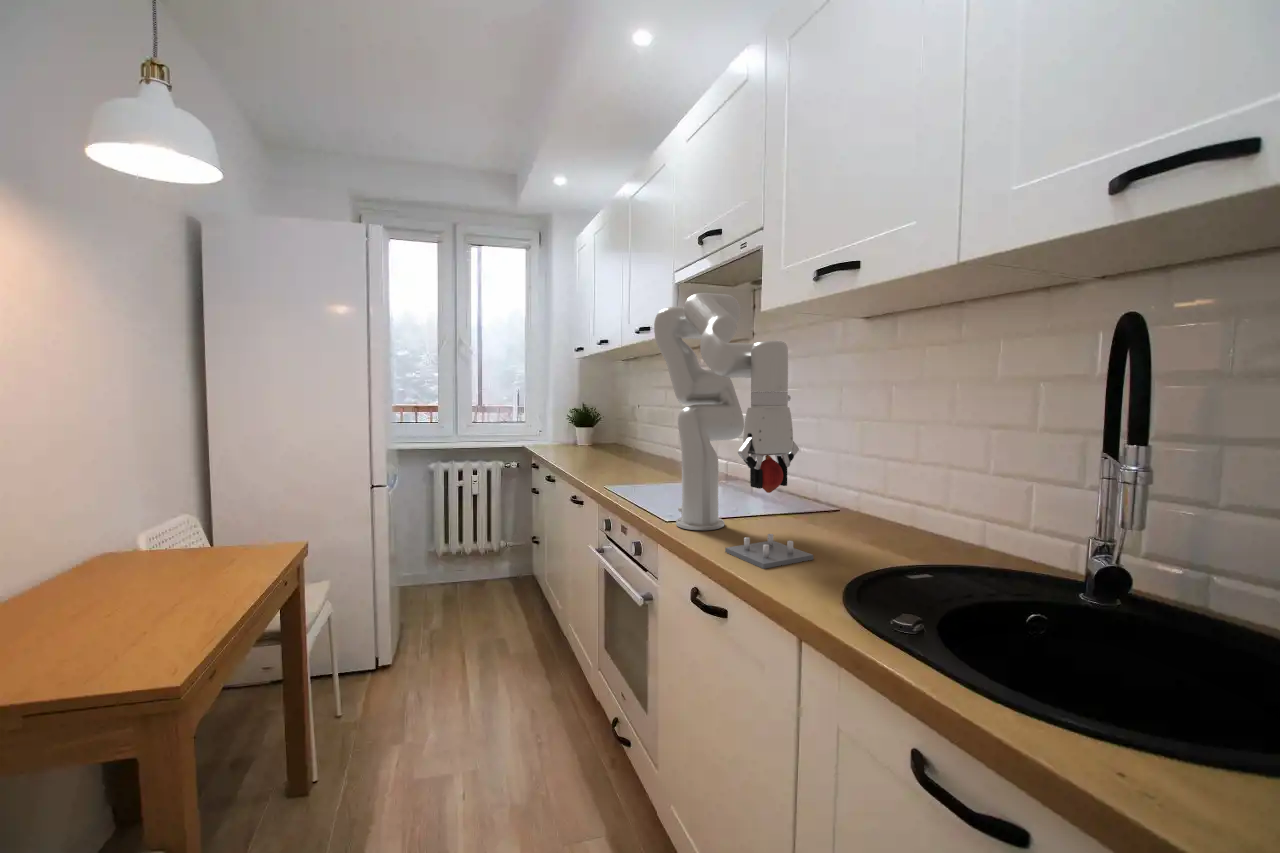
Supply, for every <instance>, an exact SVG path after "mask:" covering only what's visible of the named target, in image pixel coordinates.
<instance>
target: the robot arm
mask: <svg viewBox="0 0 1280 853" xmlns="http://www.w3.org/2000/svg"><path fill="white" fill-rule="evenodd" d="M741 313H742V312H741V305H740V303H739V301H738V299H737V298H736V297H734V296H733V295H731V294H727V293H712V292H711V293H710V292H698V293H693V294H692V295H690V296H689V297H688V298H687V299H686V300H685V302H684V306H669V307H666V308H663V309H661V310H659V311H658V312H657V313H656V316H655V319H654V323H653V325H654V327H653V332H654V338H655V342H656V345H657V347H658V348H657V349H659V352H660V354H661V355H662V357H663V359H664V361H665V363H666V364H665V365H666V366H667V370H668V374H669V378H670V381H671V385H672V388H673V392H674V394H675V397H676V400H677V401H678V402H679V403H680V404H681V405H685V406H686V407H684V408H682V409H681V411H680V412H679V414H678V416H677V427H678V434H679V439H680V450H681V506H679V507H678V508H677V509H678V510H677V511H678V512H680V513H681V517H678V518H677V519H676V521H675V525H676V526H677V528H678V527H679V528H681V529H684V530H691V531H713V530H714V531H715V530H718V529H719V530H720V529H721V528H723V527H724V526H725V520H723V519H722V518H719V456H718V454H717V451H716V450H715V448H714V446H713V445H712V443H711V442H714V441H716V442H717V441H730V440H735V439H738V438H739V437H740V436H742V434H743V440H742V442H743V443H742V445H741V446H740V448H739V449H738V451H737V455H738V456H740V458H741V459H742V461H744V463H745V464H746V465H747V468H748V469H750V472H749V474H750V475H749V476H750V480H749V481H750V487H752V488H754V489H759V490H760V489H763V488H762V487H763V471H762V469H760V466H761V463H762V461H764V460H763V459H764V458H765V457H764V456H766V455H769V456H774V457H775V461H776V462H777V463H778V464H779V465H780V466H781V468H782V471H783V481H782V483H781V484H780V485H779V486H782V487H787V486H788V468H789V467H790V466H791V462H792V461H793V459H794V458H795V456H796V454H797V453H798V452H799V451H800V448H799V447H798V445H797V444H796V443H795V440H794V431H793V420H792V415H791V414H792V413H791V409H790V406H789V405H788V404H789V402H790V401H791V399H792V398H791V396H790V394H789V391H788V390H789V348H788V344H787V343H785V341H780V340H763V341H757V342H755V343H749V342H748V343H747V342H731V341H732V339H734V337H735V336H736V334H737V331H738V330H737V329H738V322H739V320H740V317H741ZM683 339H686V340H687V339H689V340H700V344H699V346H700V348H699V349H700V356H701V358H702V360H703V361H704V364H706V366H707V367H708V368H709V369H704V368H703V367H701V365H700V362H699V358H698V357H697V354H696V352H695V351H694V350H693V348H692V347H691V346H690V345H689V344H688V343H686V341H684V340H683ZM732 378H739V379H740V378H741V379H742V378H746V379H750V392H751V393H750V407H747V409H746V413H745V418H744V414H743V411H742V408H741V404H740V402H739V399H738V396H737V395H738V394H737V392H736V389H735V387H734V384H733V381H732Z"/></svg>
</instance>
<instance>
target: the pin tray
mask: <svg viewBox="0 0 1280 853" xmlns="http://www.w3.org/2000/svg"><path fill="white" fill-rule="evenodd" d="M724 550H725V551H724V553H726V552H727V553H726V554H728V553H729V554H728V555H730V554H731V556H734V557H735V556H736V557H735V558H737V557H738V559H740V560H742V561H745V562H747V563H749V564H752V565H753V566H755V567H758V568H760V569H763V570H765V569H770V568H776V567H781V565H782V566H787V565H792V563H793V564H797V563H802V561H804V562H808V560H809V561H814V554H812V553H809V552H806V551H802V550H801V549H797V548H795V547H794V541H793V540H787V544H784V543H781V542H779V541H775V540H774V534H773V533H768V534H767V541H760V542H753V543H751V537H748V536H747V537H743V544H740V545H733V546H728V547H725V549H724Z"/></svg>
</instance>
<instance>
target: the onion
mask: <svg viewBox="0 0 1280 853" xmlns="http://www.w3.org/2000/svg"><path fill="white" fill-rule="evenodd" d="M764 458H765V459H764V460H762V463H761V466H760V469H762V471H763V487H762V488H761V489H762V490H764V491H765V492H766V493H768V494H769V493H772V492H774V491H775V490H776V489H777V488H779V487H780V486H781V485H780V484H781V483H782V481H783V471H782V468H781V466H780V465H779V464H778V463H777V461H776V460H775V459H774V458H772V455H765V457H764Z"/></svg>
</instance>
